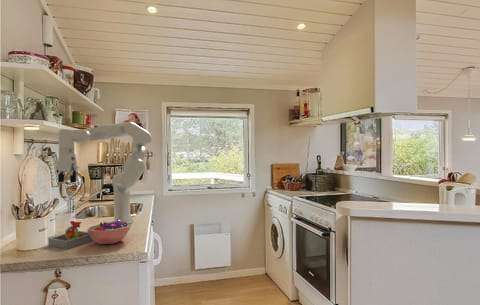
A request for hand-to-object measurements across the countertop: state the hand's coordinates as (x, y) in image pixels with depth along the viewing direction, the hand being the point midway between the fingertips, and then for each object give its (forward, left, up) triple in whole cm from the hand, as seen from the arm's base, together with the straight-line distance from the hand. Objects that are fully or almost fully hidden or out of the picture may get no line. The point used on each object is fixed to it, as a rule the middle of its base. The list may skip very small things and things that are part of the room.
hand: (67, 182), depth 165 cm
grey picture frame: (+12, +19, -28) cm, 36 cm away
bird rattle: (+11, +20, -28) cm, 36 cm away
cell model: (+5, +37, -29) cm, 47 cm away
